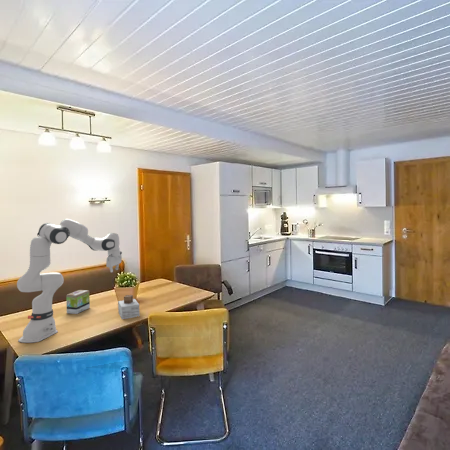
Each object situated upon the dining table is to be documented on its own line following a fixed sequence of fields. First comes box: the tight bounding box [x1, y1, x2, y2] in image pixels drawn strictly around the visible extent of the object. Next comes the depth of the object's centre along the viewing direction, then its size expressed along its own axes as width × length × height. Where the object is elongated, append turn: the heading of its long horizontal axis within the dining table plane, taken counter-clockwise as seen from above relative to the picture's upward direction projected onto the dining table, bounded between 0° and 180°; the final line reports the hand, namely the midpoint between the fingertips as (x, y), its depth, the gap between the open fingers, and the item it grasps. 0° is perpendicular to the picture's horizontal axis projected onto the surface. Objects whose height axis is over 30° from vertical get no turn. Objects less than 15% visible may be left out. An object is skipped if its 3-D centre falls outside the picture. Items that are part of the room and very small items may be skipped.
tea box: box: [65, 289, 91, 315], centre depth 237 cm, size 15×10×15 cm
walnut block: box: [123, 294, 134, 304], centre depth 227 cm, size 5×5×5 cm
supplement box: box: [117, 298, 140, 320], centre depth 227 cm, size 17×13×9 cm
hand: (114, 271), depth 235 cm, fingers open, 8 cm apart
